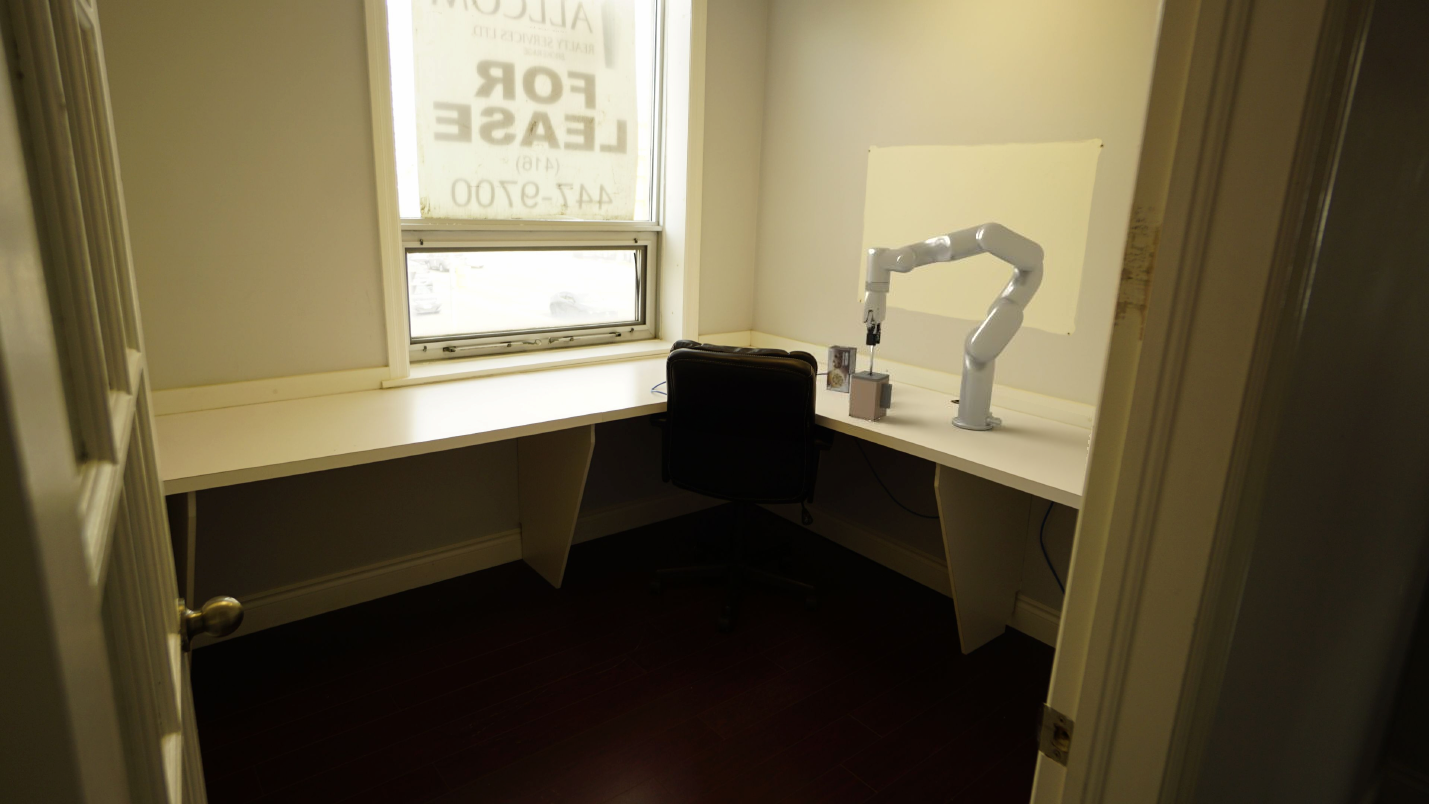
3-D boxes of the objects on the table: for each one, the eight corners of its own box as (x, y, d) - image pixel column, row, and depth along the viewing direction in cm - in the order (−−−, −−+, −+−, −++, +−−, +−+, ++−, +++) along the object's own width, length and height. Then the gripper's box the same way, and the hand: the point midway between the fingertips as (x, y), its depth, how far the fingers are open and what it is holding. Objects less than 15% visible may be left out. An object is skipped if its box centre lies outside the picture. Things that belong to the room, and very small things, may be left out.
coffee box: (854, 389, 290) (857, 347, 286) (848, 393, 284) (851, 350, 280) (832, 386, 294) (835, 344, 290) (825, 389, 289) (827, 347, 285)
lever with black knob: (882, 383, 252) (886, 332, 248) (874, 386, 248) (878, 334, 244) (866, 380, 256) (869, 330, 252) (857, 383, 251) (861, 332, 247)
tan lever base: (894, 417, 254) (897, 376, 250) (881, 423, 247) (885, 380, 243) (861, 410, 261) (864, 370, 257) (848, 416, 254) (851, 374, 250)
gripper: (873, 284, 253) (869, 339, 257) (857, 288, 239) (853, 347, 243) (896, 285, 249) (891, 341, 254) (881, 290, 235) (876, 349, 240)
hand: (872, 343), depth 249 cm, fingers closed on lever with black knob, 3 cm apart
